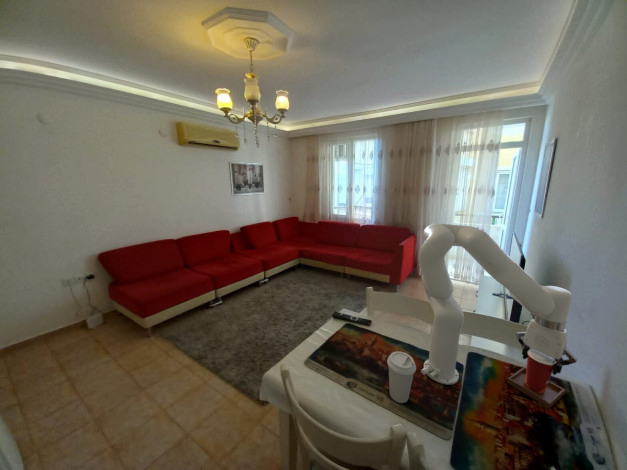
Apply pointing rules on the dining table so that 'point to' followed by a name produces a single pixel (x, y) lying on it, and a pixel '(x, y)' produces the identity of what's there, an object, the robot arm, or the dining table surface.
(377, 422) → the dining table surface
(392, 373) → the coffee cup
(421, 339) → the dining table surface
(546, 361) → the paper cup
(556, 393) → the tray
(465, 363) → the dining table surface
